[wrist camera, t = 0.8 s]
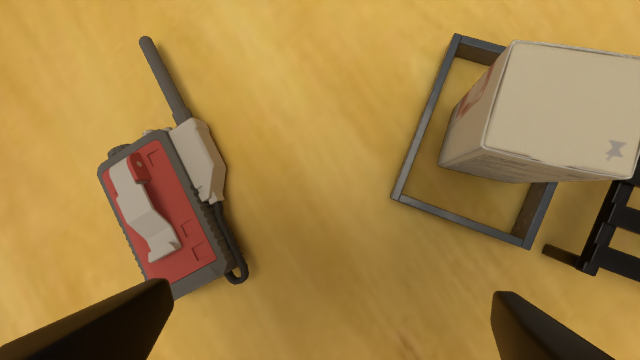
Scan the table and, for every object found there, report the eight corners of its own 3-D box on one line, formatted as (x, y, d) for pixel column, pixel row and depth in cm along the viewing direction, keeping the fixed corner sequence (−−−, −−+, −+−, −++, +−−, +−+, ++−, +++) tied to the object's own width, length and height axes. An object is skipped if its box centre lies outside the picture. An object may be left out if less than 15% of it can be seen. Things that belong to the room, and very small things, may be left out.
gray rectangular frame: (581, 84, 20) (604, 73, 18) (515, 244, 20) (530, 251, 18) (447, 46, 21) (454, 32, 19) (389, 196, 22) (390, 198, 20)
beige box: (531, 120, 20) (678, 60, 10) (512, 185, 20) (639, 187, 11) (449, 102, 21) (512, 32, 11) (432, 165, 21) (479, 150, 11)
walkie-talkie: (279, 261, 23) (166, 37, 25) (256, 280, 19) (122, 7, 21) (185, 310, 25) (85, 94, 27) (144, 337, 20) (28, 77, 22)
